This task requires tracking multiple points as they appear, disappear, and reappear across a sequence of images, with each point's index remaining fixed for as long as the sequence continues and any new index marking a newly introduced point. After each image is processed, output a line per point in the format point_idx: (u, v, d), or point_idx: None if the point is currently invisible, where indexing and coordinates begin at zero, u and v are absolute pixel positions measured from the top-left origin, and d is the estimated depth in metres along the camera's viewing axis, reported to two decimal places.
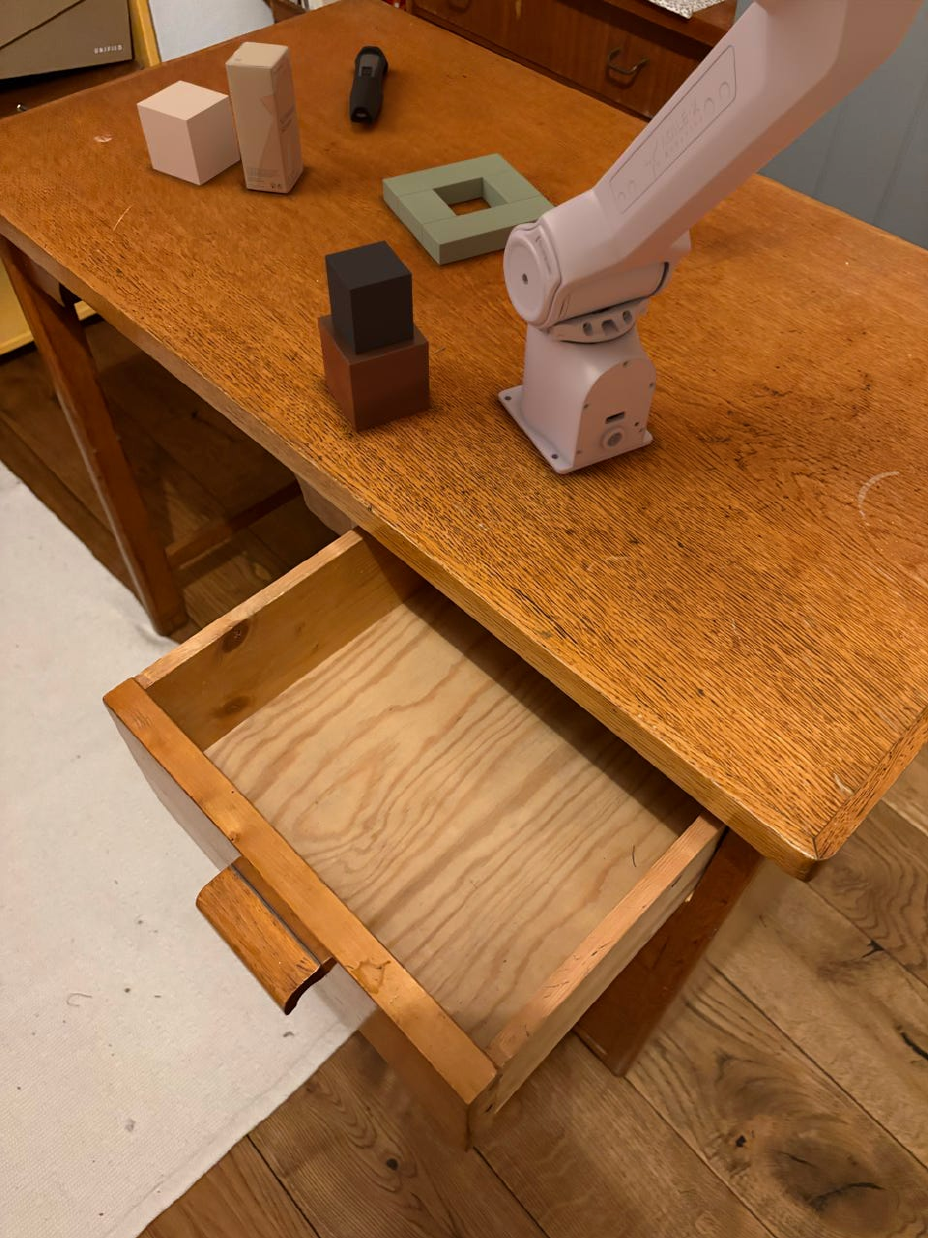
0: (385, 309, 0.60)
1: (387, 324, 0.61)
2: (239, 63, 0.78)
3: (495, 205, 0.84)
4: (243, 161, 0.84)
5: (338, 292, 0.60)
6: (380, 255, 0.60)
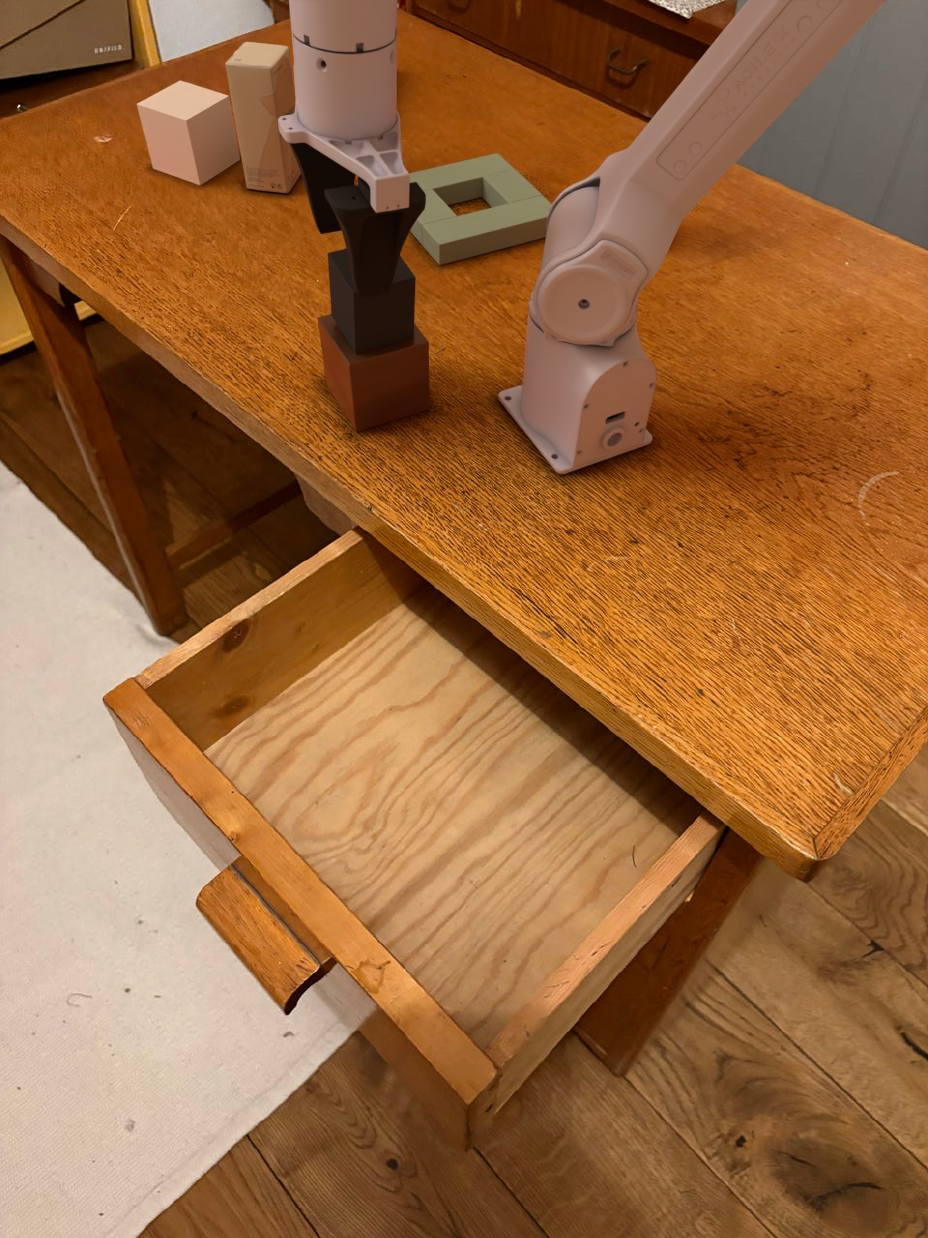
0: (387, 311, 0.60)
1: (388, 326, 0.61)
2: (239, 63, 0.78)
3: (495, 205, 0.84)
4: (243, 161, 0.84)
5: (341, 292, 0.60)
6: None
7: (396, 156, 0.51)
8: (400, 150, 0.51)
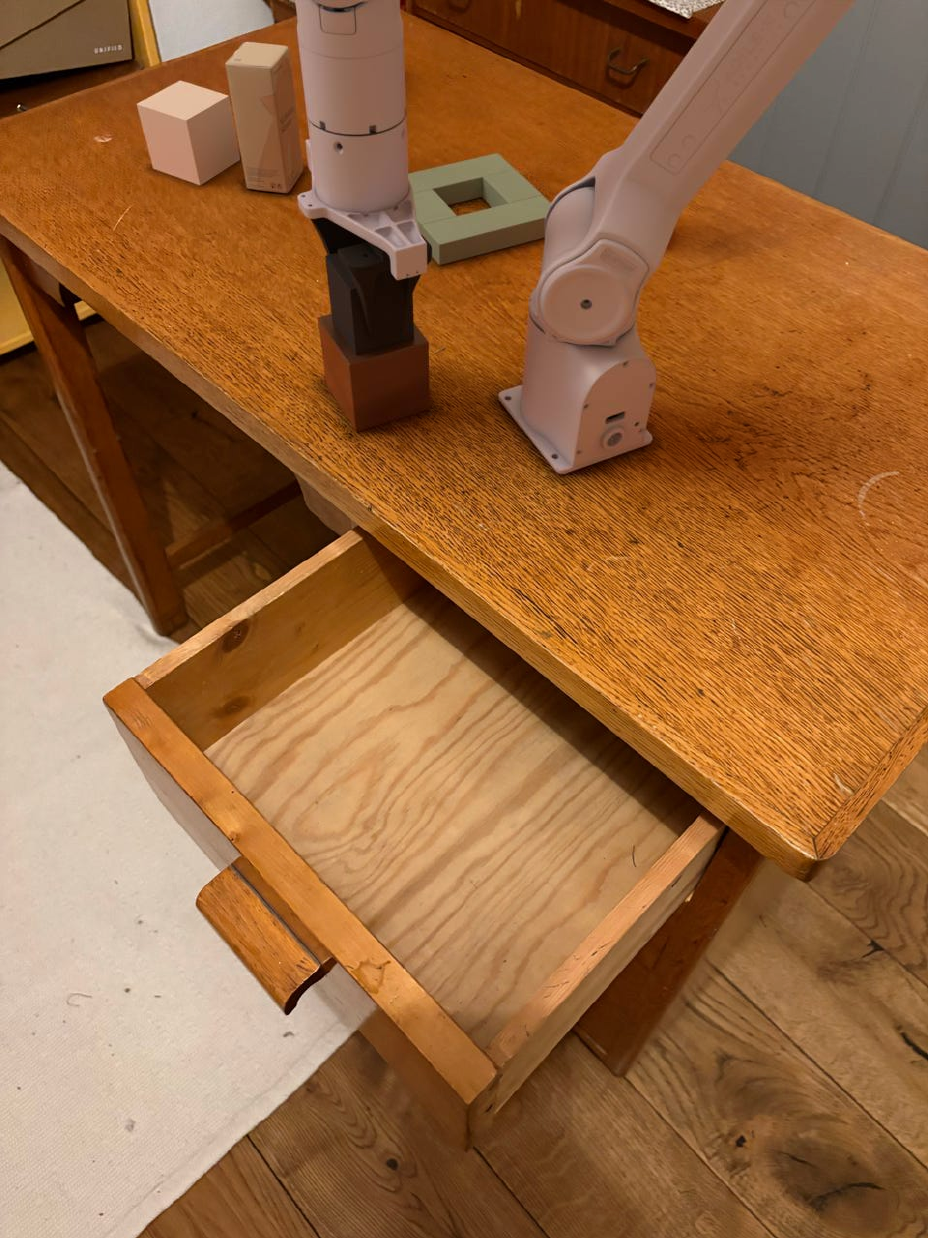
0: None
1: None
2: (239, 63, 0.78)
3: (495, 205, 0.84)
4: (243, 161, 0.84)
5: (339, 293, 0.60)
6: None
7: (412, 225, 0.54)
8: (415, 219, 0.54)
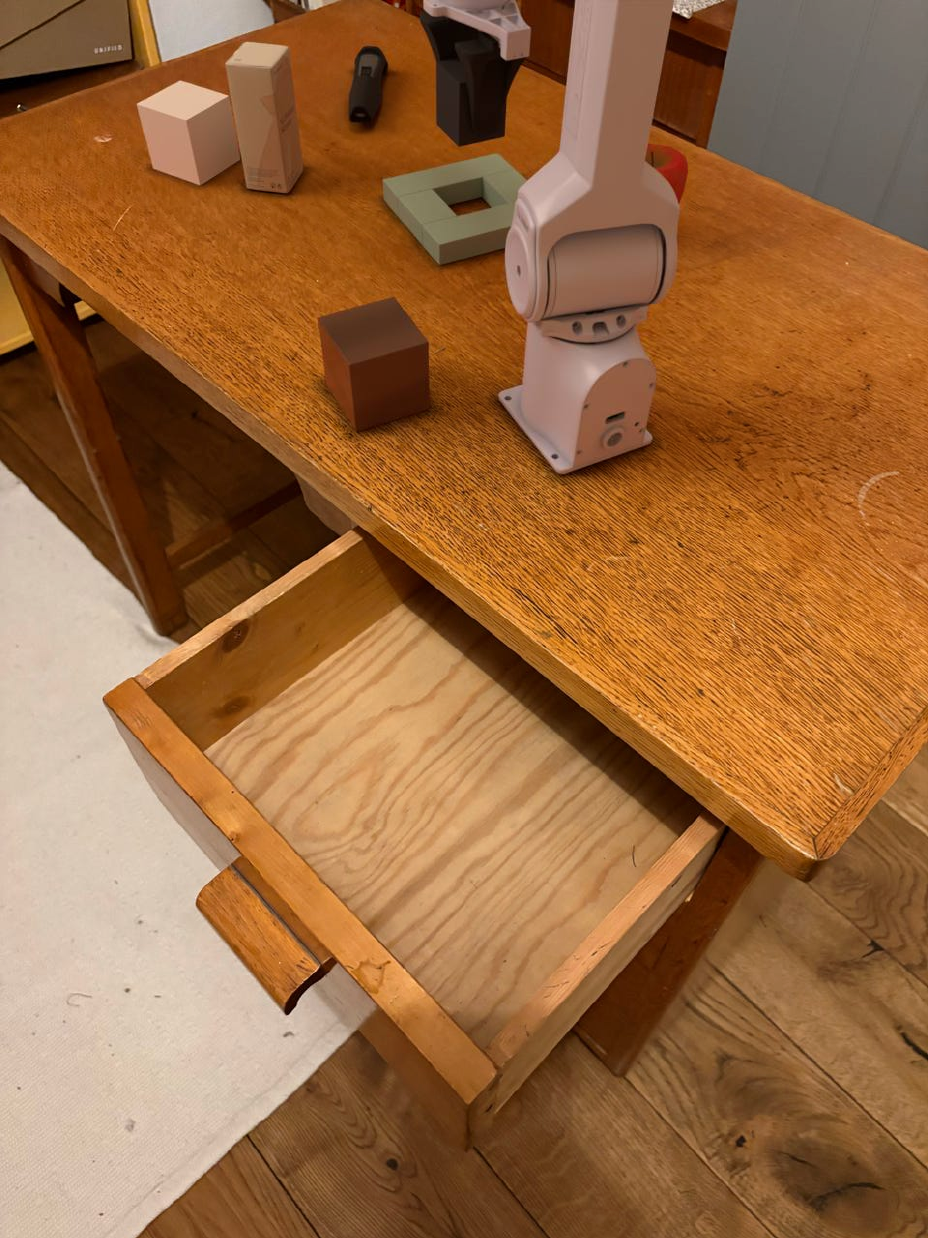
0: None
1: None
2: (239, 63, 0.78)
3: (495, 205, 0.84)
4: (243, 161, 0.84)
5: (447, 92, 0.74)
6: None
7: (517, 18, 0.68)
8: (519, 14, 0.68)
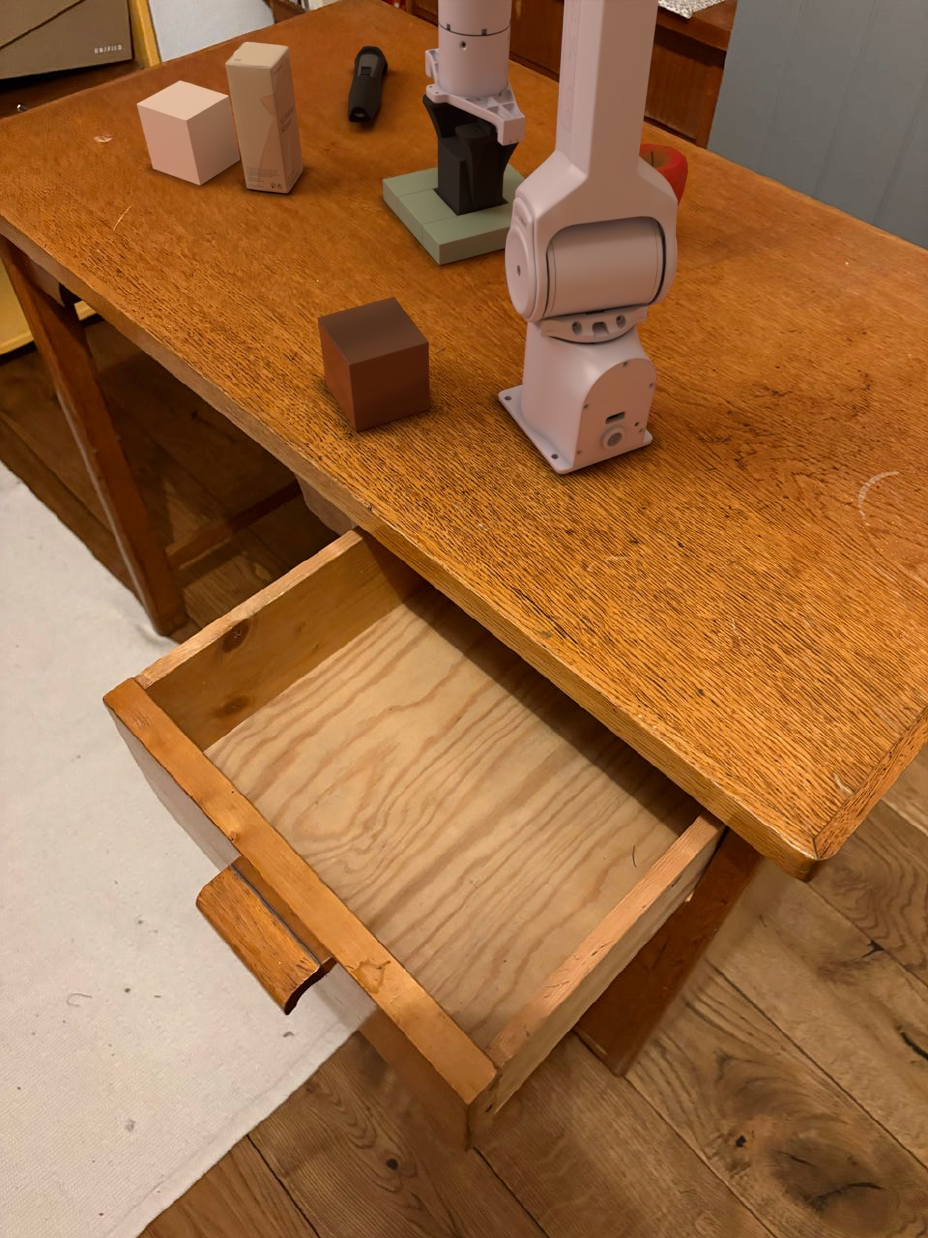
0: None
1: None
2: (239, 63, 0.78)
3: None
4: (243, 161, 0.84)
5: (448, 167, 0.80)
6: None
7: (513, 106, 0.73)
8: (515, 101, 0.73)
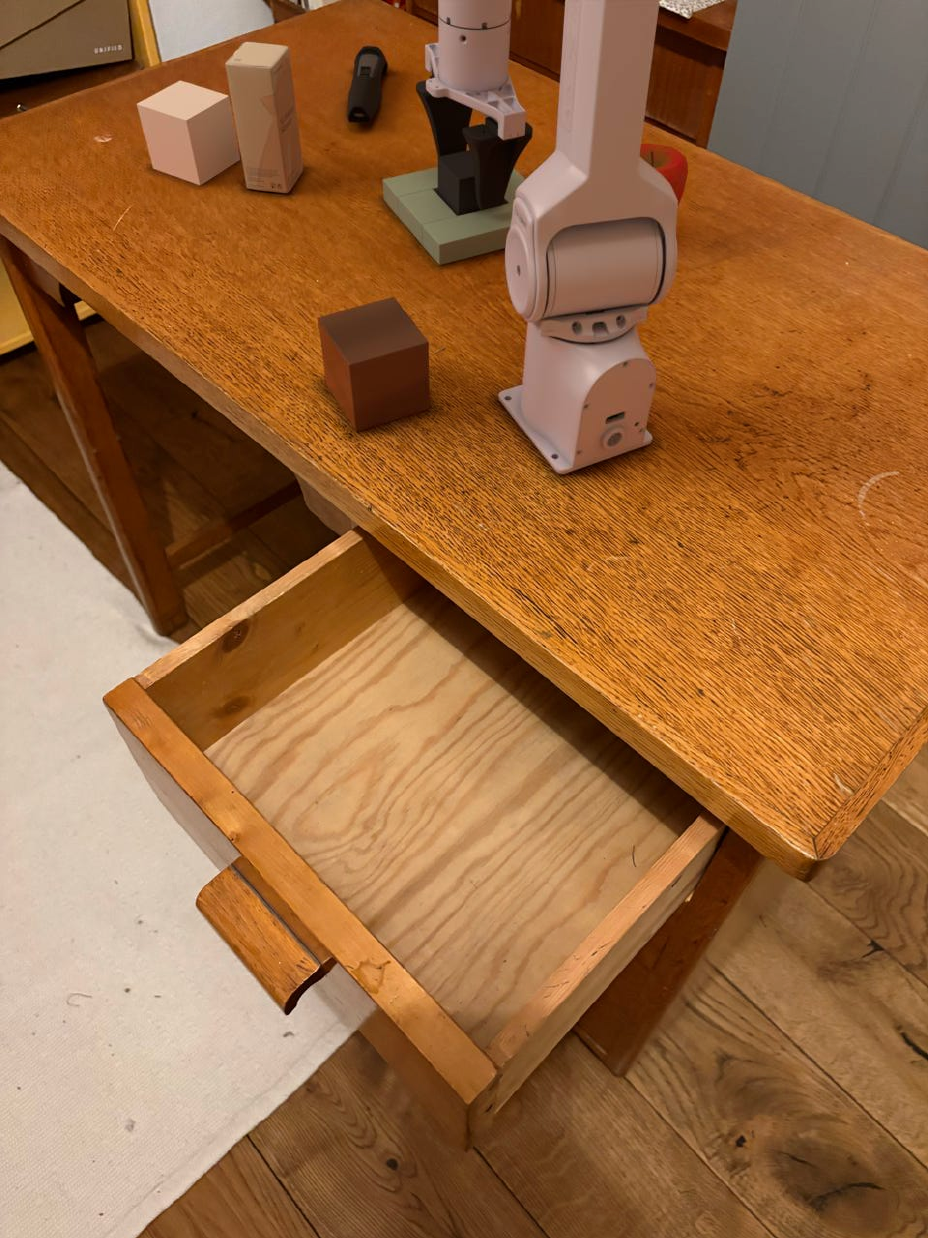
0: None
1: None
2: (239, 63, 0.78)
3: None
4: (243, 161, 0.84)
5: (447, 185, 0.81)
6: None
7: (513, 100, 0.73)
8: (516, 96, 0.73)
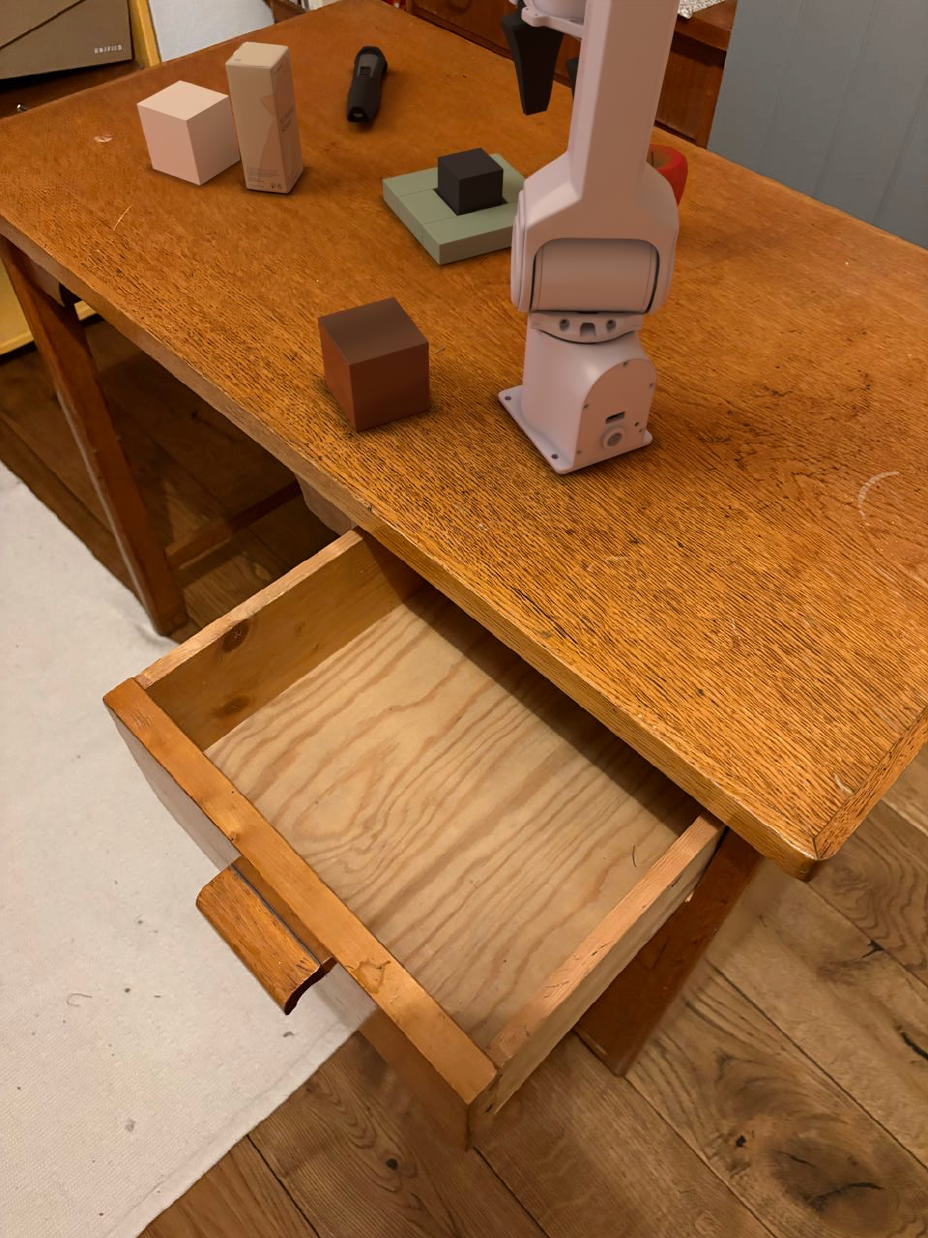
0: (483, 197, 0.81)
1: None
2: (239, 63, 0.78)
3: None
4: (243, 161, 0.84)
5: (447, 185, 0.81)
6: (479, 157, 0.81)
7: None
8: None
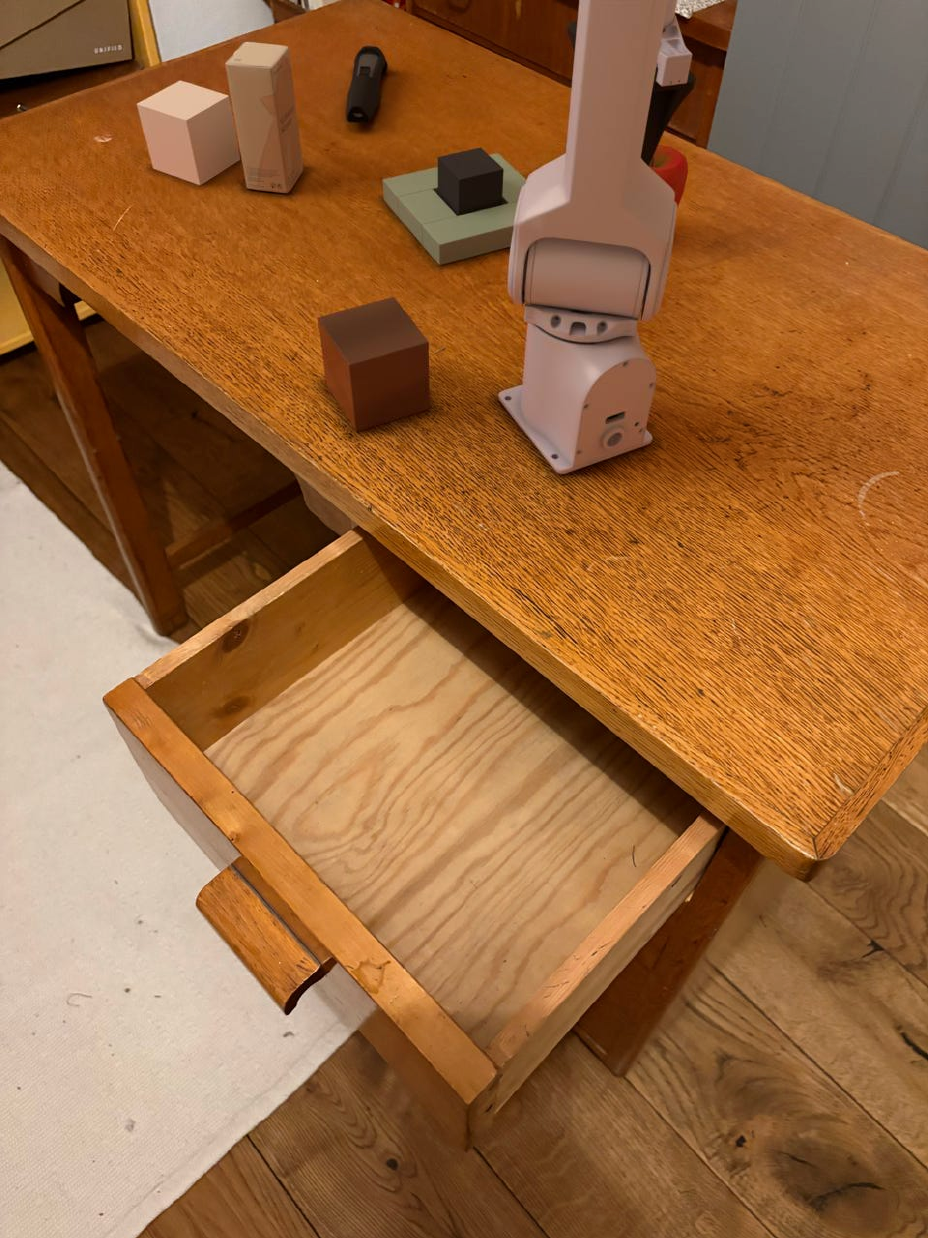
0: (483, 197, 0.81)
1: None
2: (239, 63, 0.78)
3: None
4: (243, 161, 0.84)
5: (447, 185, 0.81)
6: (479, 157, 0.81)
7: (678, 42, 0.64)
8: (681, 38, 0.64)
